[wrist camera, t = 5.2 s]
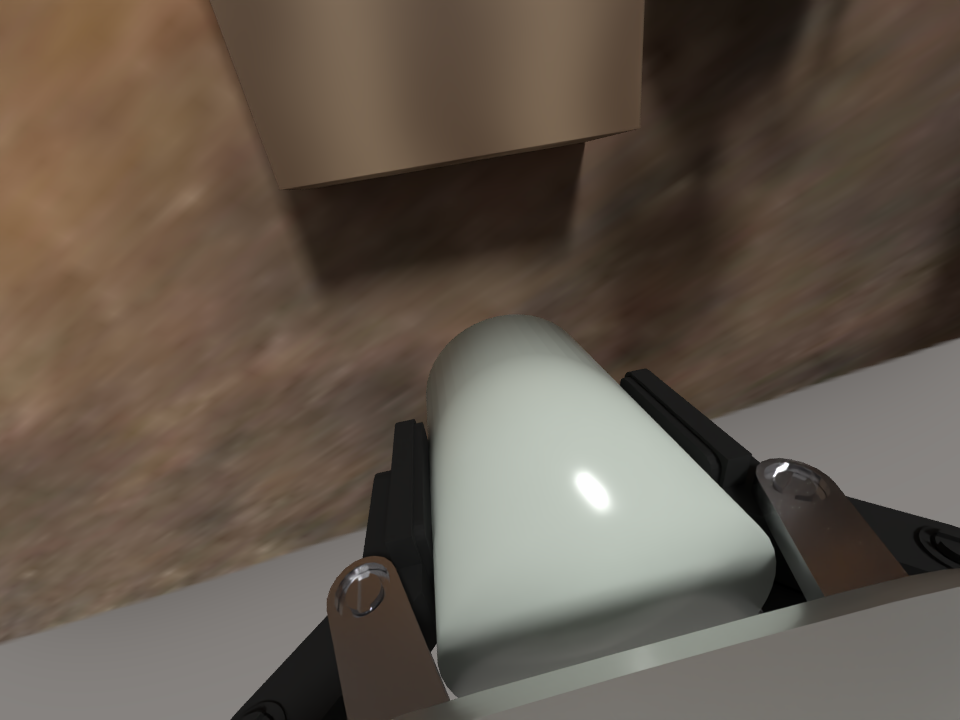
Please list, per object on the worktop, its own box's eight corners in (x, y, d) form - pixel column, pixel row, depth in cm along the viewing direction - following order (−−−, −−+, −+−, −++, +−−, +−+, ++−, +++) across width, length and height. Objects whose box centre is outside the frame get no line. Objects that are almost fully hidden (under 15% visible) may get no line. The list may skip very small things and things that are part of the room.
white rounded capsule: (584, 298, 12) (817, 460, 5) (588, 438, 15) (743, 669, 8) (407, 334, 12) (394, 564, 5) (444, 471, 15) (470, 747, 7)
